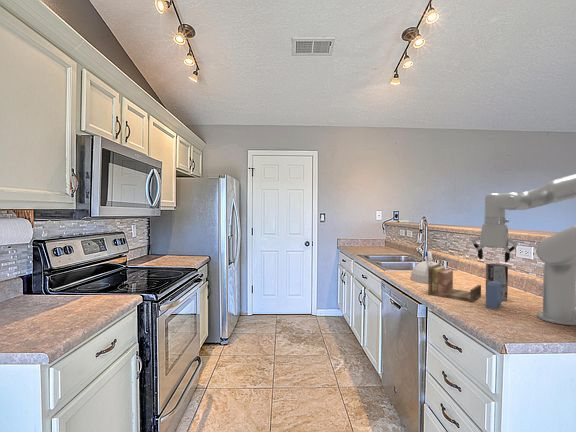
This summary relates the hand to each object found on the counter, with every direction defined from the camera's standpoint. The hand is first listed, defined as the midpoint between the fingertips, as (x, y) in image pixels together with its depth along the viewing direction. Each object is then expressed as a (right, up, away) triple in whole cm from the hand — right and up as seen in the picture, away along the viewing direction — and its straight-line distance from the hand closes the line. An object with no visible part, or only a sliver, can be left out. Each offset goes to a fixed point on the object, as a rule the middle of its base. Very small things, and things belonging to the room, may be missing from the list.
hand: (493, 260), depth 141 cm
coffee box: (+10, -20, +13) cm, 26 cm away
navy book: (0, -20, 0) cm, 20 cm away
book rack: (-8, -20, +17) cm, 28 cm away
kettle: (-6, -20, +52) cm, 56 cm away
